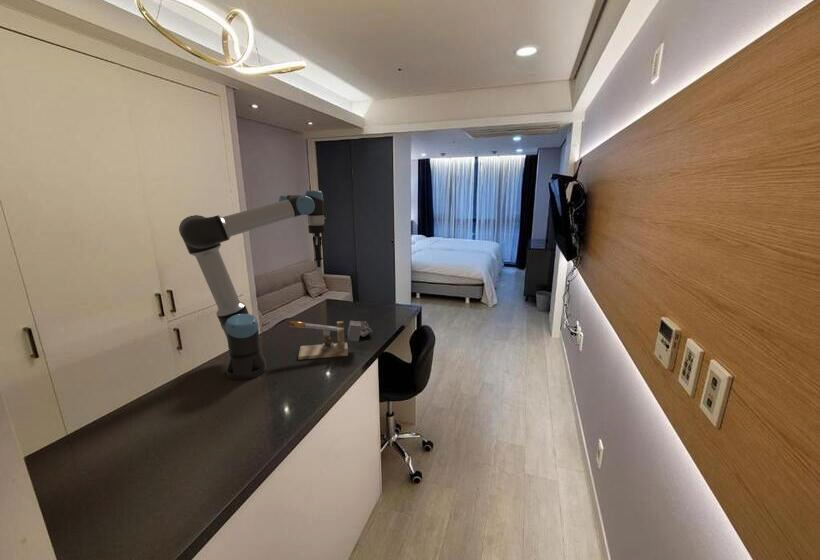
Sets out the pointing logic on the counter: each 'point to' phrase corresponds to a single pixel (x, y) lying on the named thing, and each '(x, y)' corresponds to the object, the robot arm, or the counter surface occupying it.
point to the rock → (364, 329)
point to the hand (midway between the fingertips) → (319, 273)
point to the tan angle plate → (326, 347)
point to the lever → (332, 328)
